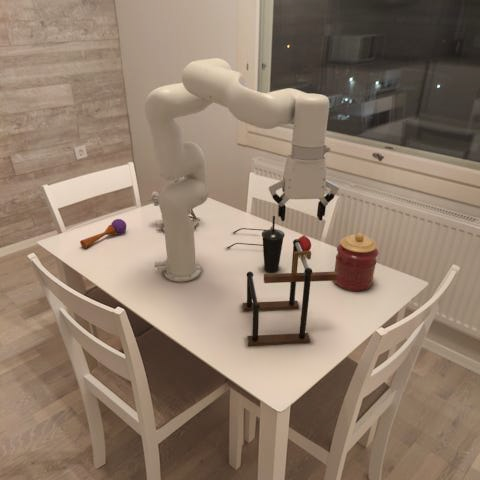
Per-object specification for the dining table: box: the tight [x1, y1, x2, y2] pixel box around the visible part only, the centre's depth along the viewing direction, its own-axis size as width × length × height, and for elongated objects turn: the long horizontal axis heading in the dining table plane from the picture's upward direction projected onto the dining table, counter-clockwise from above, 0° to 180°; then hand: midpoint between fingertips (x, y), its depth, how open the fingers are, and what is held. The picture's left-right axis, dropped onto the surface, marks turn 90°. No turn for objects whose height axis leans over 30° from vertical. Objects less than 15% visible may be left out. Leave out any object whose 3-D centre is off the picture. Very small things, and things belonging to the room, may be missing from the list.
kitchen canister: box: [333, 232, 379, 292], centre depth 144 cm, size 13×13×18 cm
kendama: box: [79, 218, 127, 249], centre depth 174 cm, size 6×6×20 cm
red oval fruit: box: [297, 234, 312, 251], centre depth 163 cm, size 6×6×8 cm
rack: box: [241, 238, 313, 347], centre depth 123 cm, size 17×19×23 cm
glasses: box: [226, 226, 272, 249], centre depth 172 cm, size 14×16×5 cm
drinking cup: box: [261, 215, 286, 274], centre depth 150 cm, size 8×8×20 cm
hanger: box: [263, 250, 337, 284], centre depth 120 cm, size 20×2×9 cm, turn 95°
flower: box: [147, 177, 200, 232], centre depth 180 cm, size 20×22×25 cm
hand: (300, 218), depth 113 cm, fingers open, 9 cm apart
